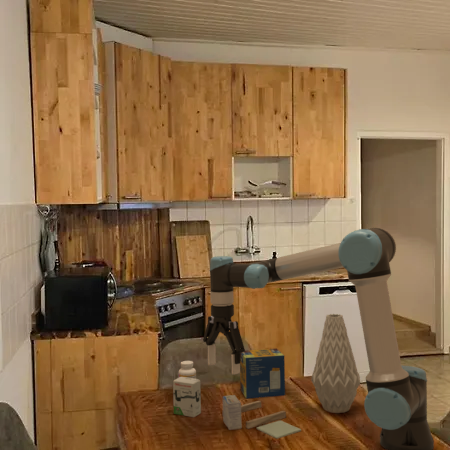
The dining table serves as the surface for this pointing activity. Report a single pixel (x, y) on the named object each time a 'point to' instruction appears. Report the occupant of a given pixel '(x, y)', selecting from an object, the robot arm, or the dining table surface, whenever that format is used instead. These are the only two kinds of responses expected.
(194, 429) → the dining table surface
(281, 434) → the sage mat
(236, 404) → the medicine box
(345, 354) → the vase
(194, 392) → the ink box
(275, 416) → the slot rack
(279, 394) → the protein box
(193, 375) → the supplement bottle
